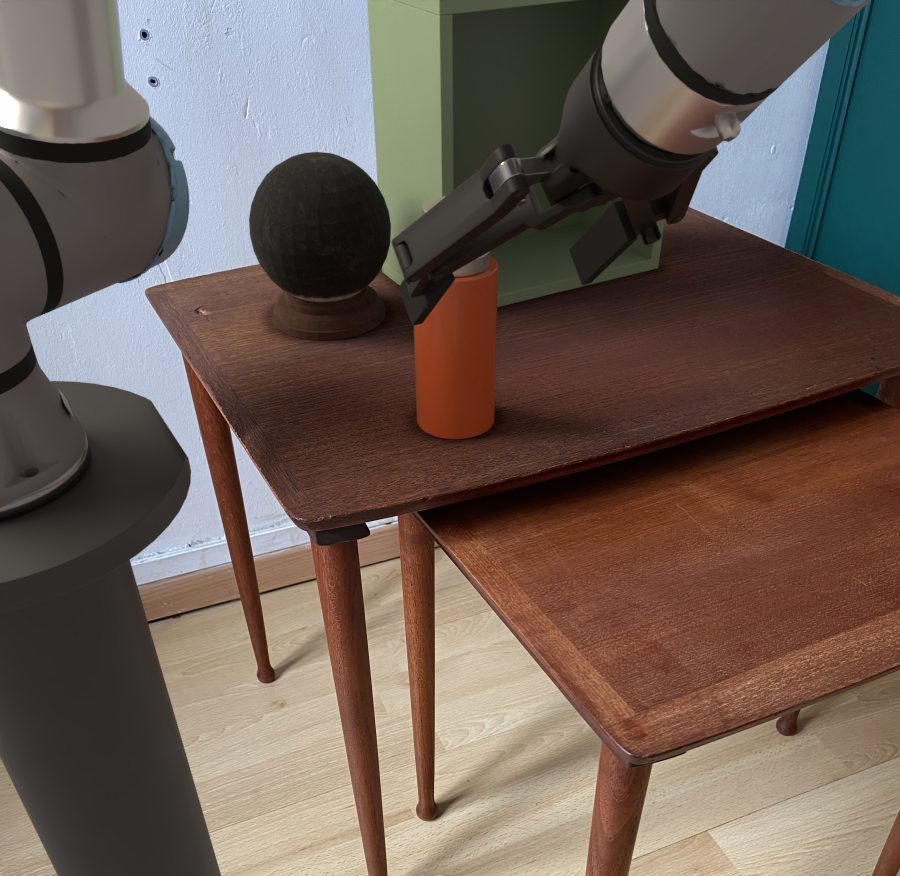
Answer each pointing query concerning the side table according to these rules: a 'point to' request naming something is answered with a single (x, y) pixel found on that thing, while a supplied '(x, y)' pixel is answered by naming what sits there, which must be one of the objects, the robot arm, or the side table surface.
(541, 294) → the cupboard
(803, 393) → the side table surface
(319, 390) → the side table surface
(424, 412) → the spray can
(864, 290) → the side table surface
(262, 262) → the black ball on stand
